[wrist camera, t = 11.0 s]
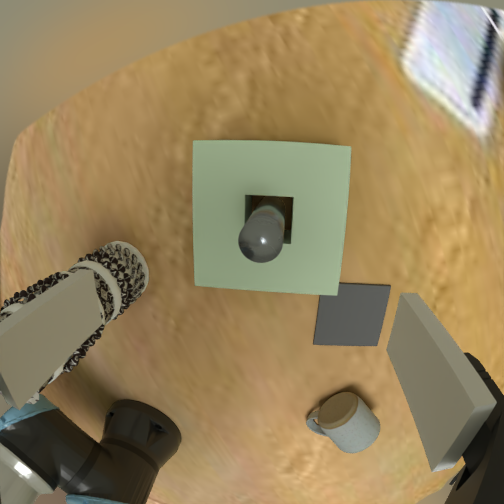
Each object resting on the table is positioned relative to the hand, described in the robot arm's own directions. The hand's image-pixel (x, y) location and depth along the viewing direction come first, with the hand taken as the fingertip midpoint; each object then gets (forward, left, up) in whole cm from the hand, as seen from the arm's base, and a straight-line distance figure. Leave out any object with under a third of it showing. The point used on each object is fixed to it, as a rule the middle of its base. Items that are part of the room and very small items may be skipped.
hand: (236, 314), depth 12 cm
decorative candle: (-20, -9, -25) cm, 33 cm away
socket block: (0, 0, -25) cm, 25 cm away
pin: (0, 0, -25) cm, 25 cm away
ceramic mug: (+13, -31, -25) cm, 42 cm away
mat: (+11, -13, -25) cm, 30 cm away
